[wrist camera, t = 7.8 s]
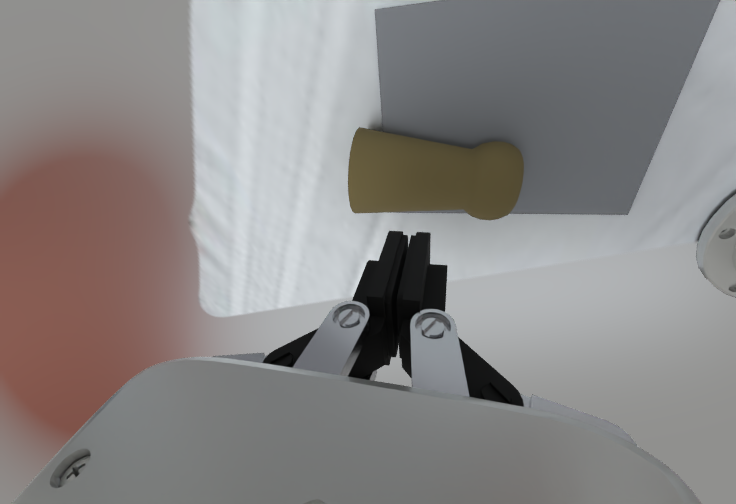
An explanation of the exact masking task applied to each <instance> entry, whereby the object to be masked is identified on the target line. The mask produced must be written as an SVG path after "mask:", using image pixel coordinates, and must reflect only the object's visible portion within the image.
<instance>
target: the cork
mask: <svg viewBox="0 0 736 504" xmlns="http://www.w3.org/2000/svg"><path fill="white" fill-rule="evenodd" d="M523 175H524V161H523V157H522V154H521V152H520V150H519V149H518V148H516V147H515V146H514V145H512V144H510V143H506V142H498V141H493V142H488V143H483V144H481V145H479V146H477V147H475V148H473V149H469V148H464V147H458V146H453V145H448V144H443V143H438V142H433V141H427V140H422V139H417V138H412V137H407V136H401V135H396V134H391V133H386V132H381V131H376V130H370V129H365V128H360V127H359V128H358V129H357V131H356V133H355V135H354V138H353V142H352V147H351V151H350V159H349V171H348V191H349V201H350V206H351V209H352V211H353V212H354V213H378V212H406V211H435V210H465V211H466V212H467V213H468V214H470V215H471V216H472V217H475V218H478V219H482V220H495V219H499V218H501V217H504V216H506V215H508V214H509V213H510V212H511V211H512V210H513V208H514V207H515V205H516V203H517V201H518V198H519V195H520V191H521V187H522V183H523Z"/></svg>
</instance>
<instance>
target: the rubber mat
mask: <svg viewBox="0 0 736 504" xmlns="http://www.w3.org/2000/svg"><path fill="white" fill-rule="evenodd" d="M719 2H720V0H441V1H434V2H427V3H419V4H412V5H405V6H398V7H390V8H383V9H376V10H375V20H376V35H377V50H378V65H379V80H380V95H381V110H382V125H383V132H386V133H391V134H396V135H401V136H407V137H412V138H417V139H422V140H427V141H433V142H438V143H443V144H448V145H453V146H458V147H464V148H469V149H473V148H475V147H477V146H479V145H481V144H483V143H488V142H493V141H498V142H506V143H510V144H512V145H514V146H515V147H516V148H518V149H519V150H520V152H521V154H522V157H523V161H524V175H523V183H522V187H521V191H520V195H519V198H518V201H517V203H516V205H515V207H514V208H513V210H512V211H511V212H510V213H509V214H604V215H628V213H629V211H630V208H631V206H632V204H633V201H634V199H635V197H636V195H637V192H638V190H639V188H640V185H641V183H642V181H643V178H644V176H645V174H646V171H647V169H648V167H649V164H650V162H651V160H652V157H653V155H654V153H655V150H656V148H657V146H658V143H659V141H660V139H661V136H662V134H663V132H664V129H665V127H666V125H667V122H668V120H669V118H670V116H671V113H672V111H673V109H674V106H675V104H676V102H677V99H678V97H679V95H680V92H681V90H682V88H683V85H684V83H685V81H686V78H687V76H688V74H689V71H690V69H691V67H692V64H693V62H694V60H695V57H696V55H697V53H698V50H699V48H700V46H701V43H702V41H703V39H704V37H705V34H706V32H707V30H708V27H709V25H710V23H711V20H712V18H713V16H714V13H715V11H716V9H717V6H718V4H719ZM397 213H467V212H466V211H465V210H435V211H406V212H397Z"/></svg>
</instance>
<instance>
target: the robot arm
mask: <svg viewBox="0 0 736 504" xmlns="http://www.w3.org/2000/svg"><path fill="white" fill-rule="evenodd" d="M696 258H697V263H698V267H699V269H700V270H701V272H702V273H703V275H704V276H705V278H706V279H708V280H709V281H710V282H711V283H712V284H713V285H714V286H715V287H716V288H717V289H719V290H720V291H722V292H723V293H725V294H727V295H730V296H732V297H735V298H736V194H735V195H734V196H733V197H731V198H730V199H729V200H728V201H726V202H725V204H724V205H723V206H722V207H721V208H720V209H719V210H718V211H717V212H716V213H715V214H714V215H713V216H712V218H711V219H710V221H709V222H708V224H707V225H706V227H705V228H704V230H703V231H702V234H701V236H700V239H699V241H698V244H697V253H696ZM446 283H447V265H433V264H430V233H425V232H417V233H416V236H413V235H411V239H410V243H409V247H408V236H407V235H403V232H400V231H389V233H388V236H387V238H386V241H385V244H384V247H383V250H382V253H381V256H380V258H379V261H371V260H369V261H368V262H367V264H366V267H365V269H364V272H363V274H362V277H361V280H360V282H359V285H358V287H357V290H356V292H355V295H354V297H353V300H352V301H346V302H343V303H340V304H338V305H336V306H335V307H334V308H333V309H332V310H331V311H330V312H329V314H328V315H327V317H326V318H325V320H324V321H323V323H322V324H321V326H320V327H319V328H318V329H316V330H314V331H312V332H310V333H308V334H306V335H304V336H302V337H300V338H298V339H296V340H294V341H292V342H290V343H288V344H286V345H284V346H282V347H280V348H278V349H276V350H274V351H273V352H271V353H270V354H269V355H268V356H265V354H264V353H253V354H238V355H223V356H213V357H191V358H181V359H177V360H171V361H166V362H163V363H160V364H157V365H154V366H151V367H149V368H147V369H146V370H143V371H142V372H140V373H139V374H137V375H136V376H135V377H133V378H132V379H131V380H129V381H128V382H127V383H126V384H125V385H124V386H123V387H121V388H120V389H119V390H118V391H117V392H116V393H115V394H114V395H113V396H112V397H111V398H110V399H109V400H108V401H107V402H106V403H105V404H104V405H103V406H102V407H101V408H100V409H99V410H98V411H97V412H96V413H95V414H94V415H93V416H92V417H91V418H90V419H89V420H88V421H87V422H86V423H85V424H84V425H83V427H81V428H80V429H79V430H78V432H77V433H76V434H75V435H74V436H73V437H72V438H71V439H70V440H69V441H68V442H67V443H66V444H65V445H64V446H63V447H62V448H61V450H60V451H59V452H58V453H57V454H56V455H55V456H54V457H53V458H52V459H51V461H50V462H49V463H48V464H47V465H46V466H45V467H44V468H43V469H42V470H41V472H39V474H38V475H37V476H36V477H35V478H34V479H33V480H32V481H31V483H29V485H28V486H27V487H26V488H25V489H24V490H23V491H22V492H21V493H20V494H19V496H18V497H17V498H16V499H15V500H14V501H13V502H12V503H11V504H702V503H701V502H700V500H699V499H698V498H697V497H696V495H695V494H694V492H693V491H692V490H691V489H690V488H689V486H687V484H686V483H685V482H684V481H683V480H682V479H681V478H680V477H679V476H678V475H677V474H676V473H675V472H674V471H673V470H671V469H670V468H669V467H668V466H666V465H665V464H664V463H663V462H661V461H660V460H658V459H657V458H655V457H654V456H652V455H651V454H649V453H648V452H646V451H644V450H643V449H641V448H639V447H637V444H636V443H635V442H634V441H633V439H632V438H631V436H630V435H629V434H627V433H626V432H625V431H624V430H623V429H621V428H620V427H619V426H617V425H615V424H613V423H611V422H609V421H607V420H604V419H601V418H598V417H595V416H593V415H590V414H587V413H584V412H581V411H578V410H576V409H573V408H570V407H567V406H564V405H561V404H558V403H555V402H553V401H550V400H547V399H544V398H541V397H538V396H535V395H532V396H531V397H528V396H524V395H522V394H520V393H519V392H518V390H517V389H516V388H515V387H514V386H513V385H512V384H511V383H510V382H509V381H507V380H506V379H505V378H504V377H503V376H502V375H500V374H499V373H498V372H497V371H496V370H495V369H494V368H492V366H490V365H489V364H488V363H487V362H486V361H485V360H484V359H482V358H481V357H480V356H479V355H478V354H477V353H476V352H475V351H473V350H472V349H471V348H470V347H469V346H468V345H467V344H465V343H464V342H463V341H462V340H461V339H460V338H459V337H458V334H457V328H456V324H455V322H454V319H453V318H452V317H451V316H450V315H449V314H447V313H445V302H446ZM398 345H399V353H400V358H402V367H403V369H404V370H405V371H406V372H407V374H408V375H409V376H410V377H411V378H412V387H408V386H401V385H396V384H390V383H383V382H377V381H374V380H375V378H376V374H377V369H379V368H380V367H382V366H384V365H389V364H390V359H391V357H396V355H397V350H398Z"/></svg>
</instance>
